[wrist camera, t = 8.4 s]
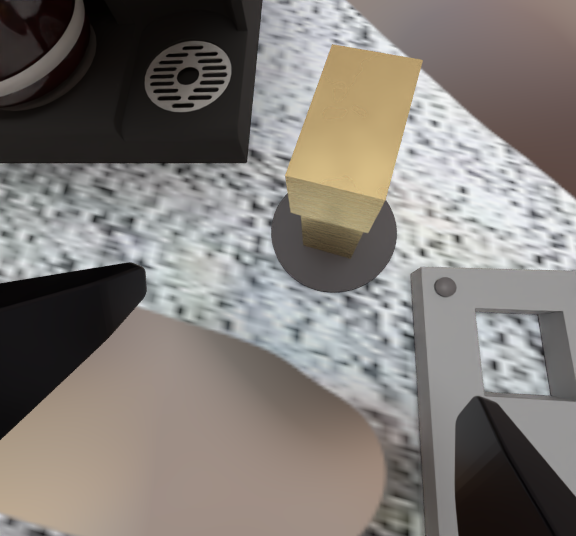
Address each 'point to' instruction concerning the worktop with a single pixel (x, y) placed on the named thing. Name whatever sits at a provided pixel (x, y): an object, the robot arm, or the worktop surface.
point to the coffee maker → (127, 80)
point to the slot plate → (468, 373)
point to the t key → (349, 146)
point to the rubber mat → (326, 266)
